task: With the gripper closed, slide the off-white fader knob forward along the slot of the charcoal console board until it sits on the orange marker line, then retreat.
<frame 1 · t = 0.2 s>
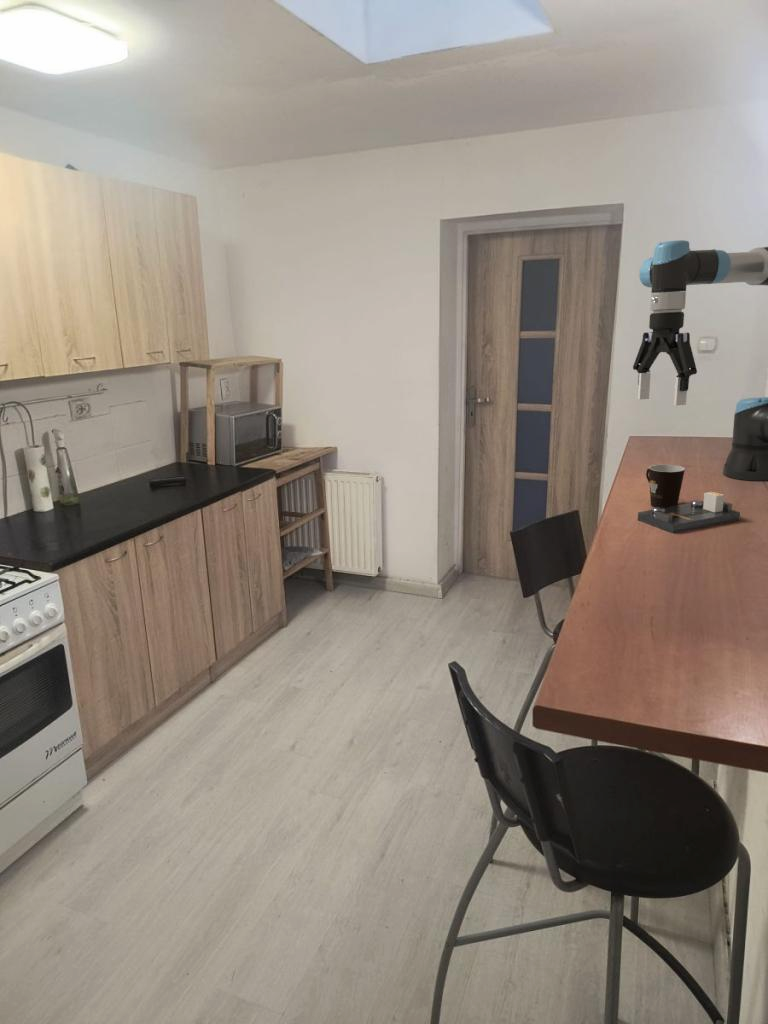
hand: (660, 402, 163), 27 cm above the breakfast bar, fingers open, 13 cm apart
coffee mug: (662, 504, 175), on the breakfast bar
fader knob: (713, 501, 161), point 4 cm above the breakfast bar, slide at -6.0 cm
console: (687, 520, 161), on the breakfast bar
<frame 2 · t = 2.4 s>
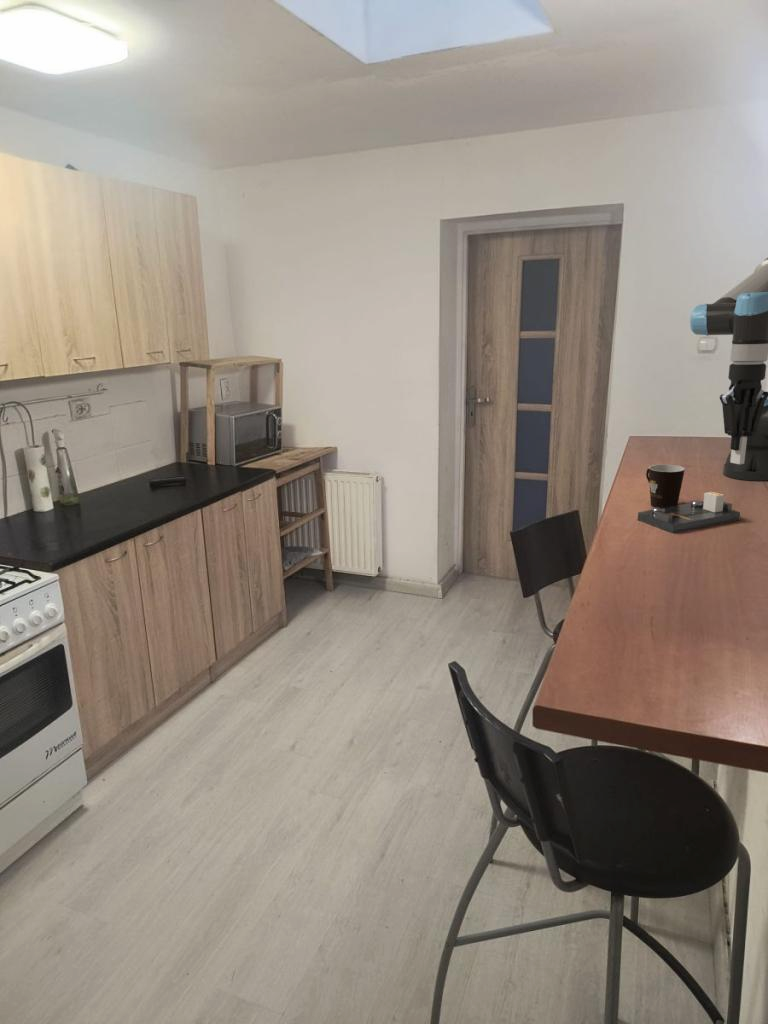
hand: (737, 462, 160), 13 cm above the breakfast bar, fingers closed
nothing on the breakfast bar moved.
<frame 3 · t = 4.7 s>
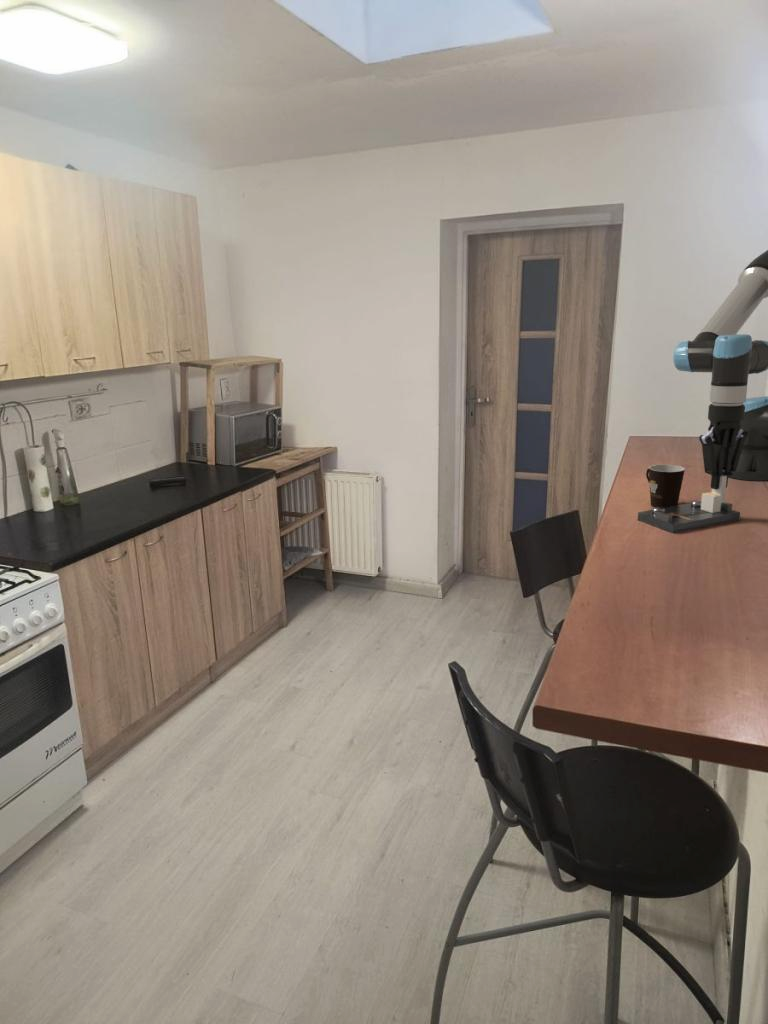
hand: (717, 501, 161), 4 cm above the breakfast bar, fingers closed
fader knob: (711, 502, 160), point 4 cm above the breakfast bar, slide at -5.2 cm, touching gripper
everything else where it was.
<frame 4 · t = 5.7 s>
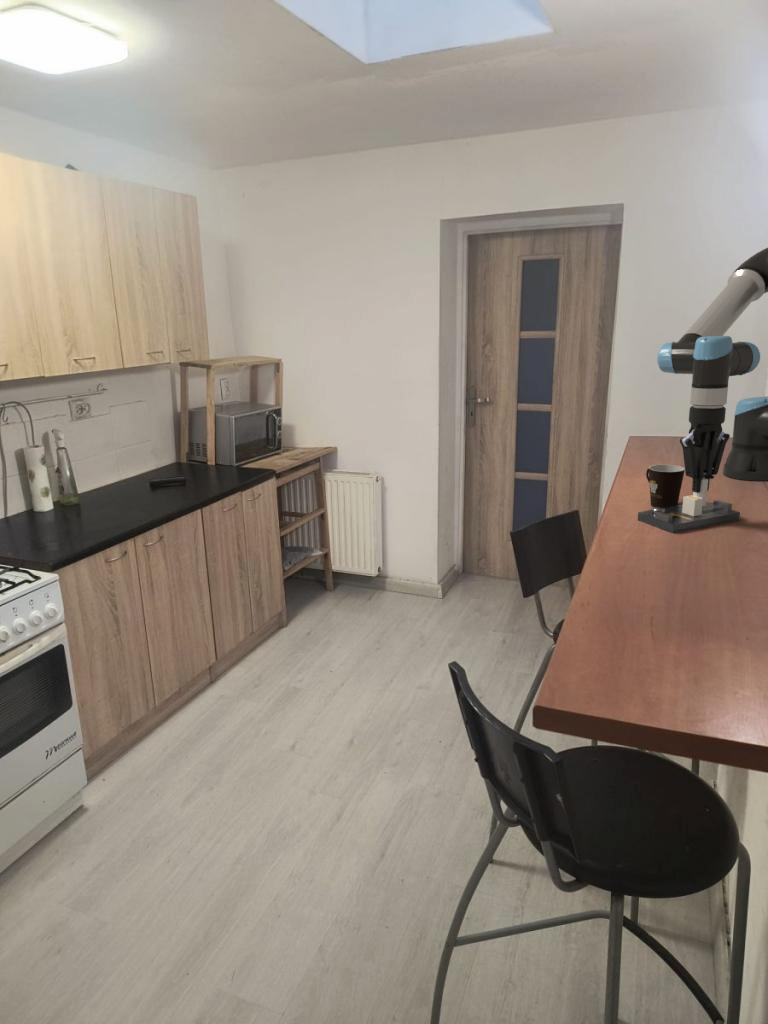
hand: (698, 504, 159), 4 cm above the breakfast bar, fingers closed
fader knob: (692, 505, 158), point 4 cm above the breakfast bar, slide at 0.5 cm, touching gripper
everything else where it was.
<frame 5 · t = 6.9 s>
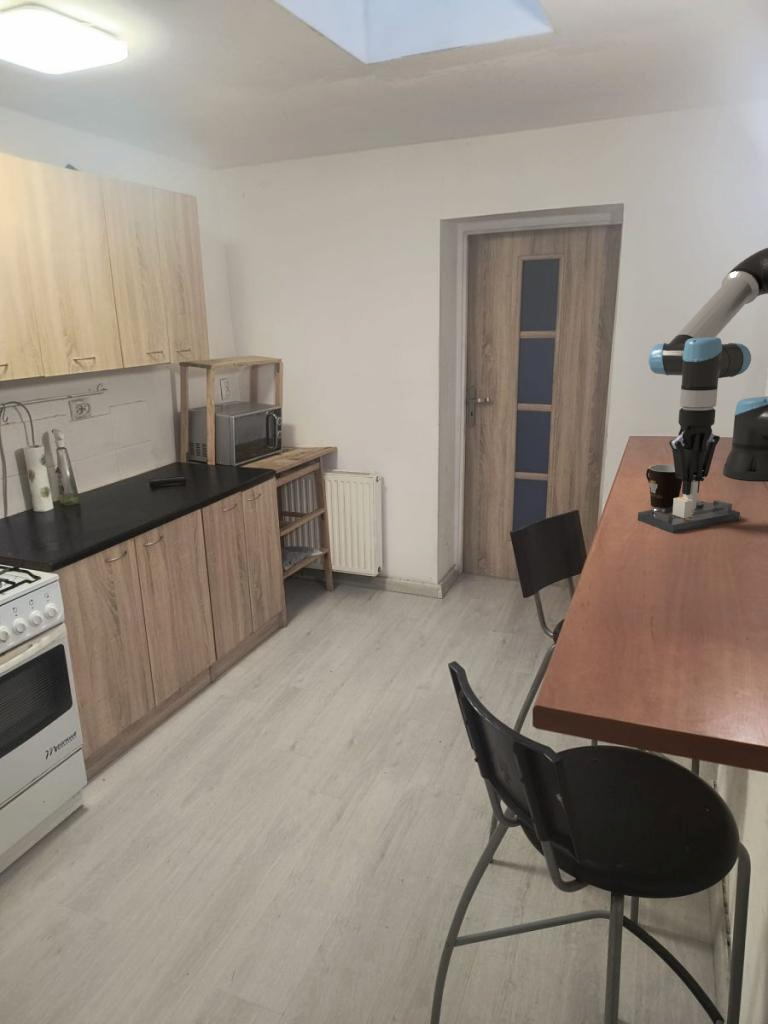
hand: (689, 507, 158), 4 cm above the breakfast bar, fingers closed
fader knob: (682, 507, 158), point 4 cm above the breakfast bar, slide at 3.4 cm, touching gripper
everything else where it was.
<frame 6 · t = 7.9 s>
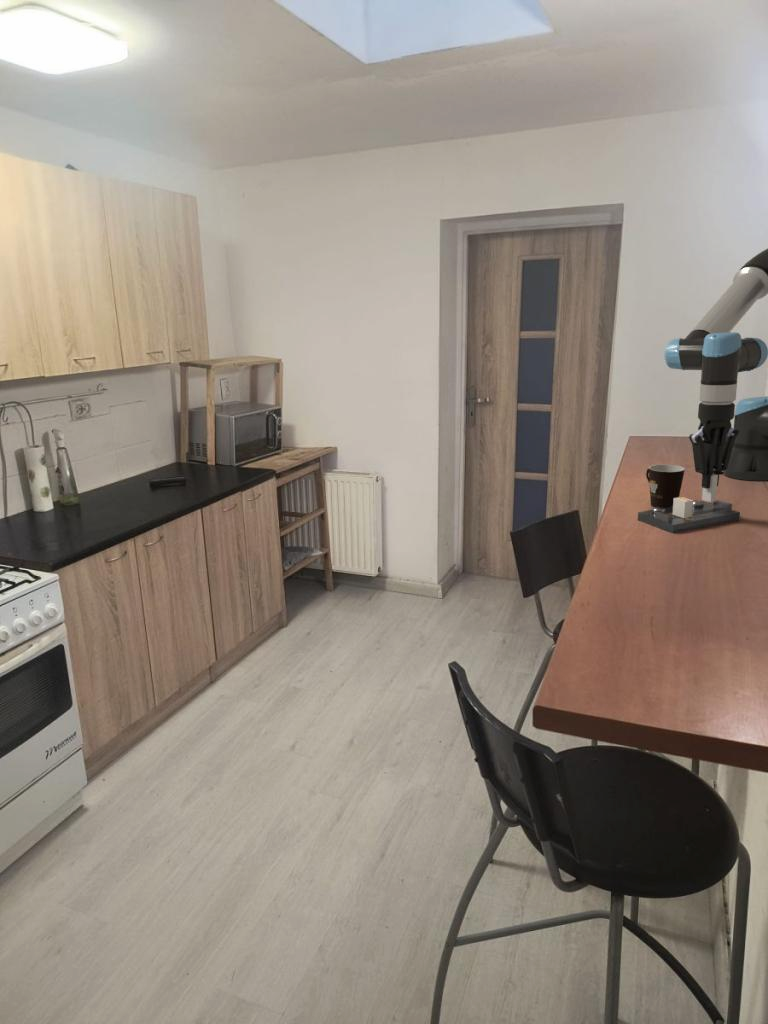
hand: (708, 500, 160), 5 cm above the breakfast bar, fingers closed
fader knob: (682, 507, 158), point 4 cm above the breakfast bar, slide at 3.4 cm
everything else where it was.
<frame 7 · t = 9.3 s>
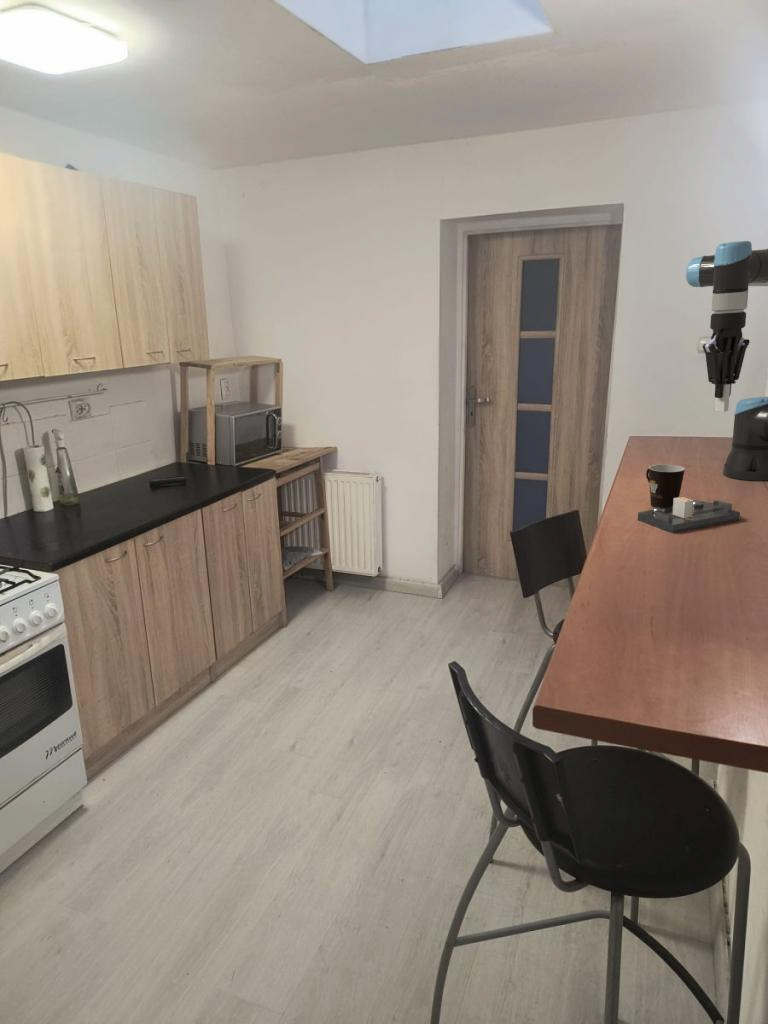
hand: (721, 410, 165), 24 cm above the breakfast bar, fingers closed
nothing on the breakfast bar moved.
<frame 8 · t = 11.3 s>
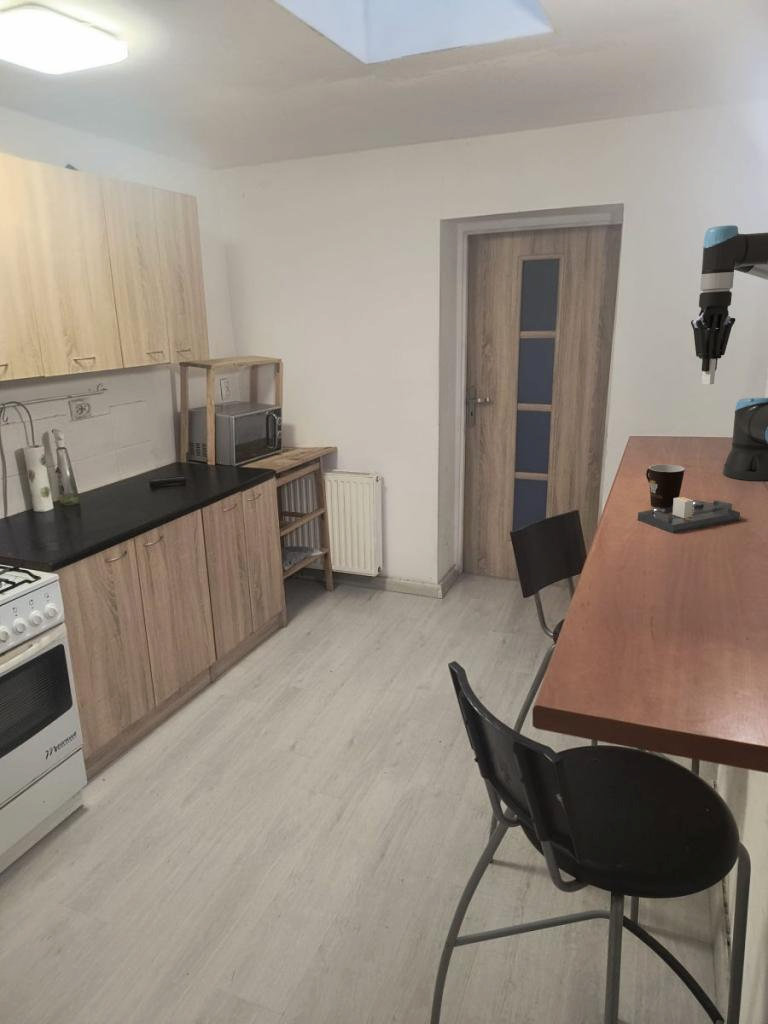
hand: (707, 383, 178), 29 cm above the breakfast bar, fingers closed
nothing on the breakfast bar moved.
at the end: fader knob slide at 3.4 cm; the gripper is holding nothing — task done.
